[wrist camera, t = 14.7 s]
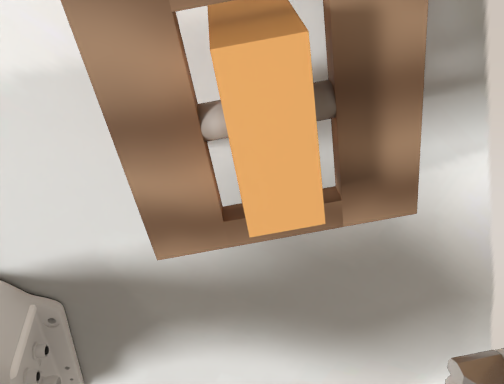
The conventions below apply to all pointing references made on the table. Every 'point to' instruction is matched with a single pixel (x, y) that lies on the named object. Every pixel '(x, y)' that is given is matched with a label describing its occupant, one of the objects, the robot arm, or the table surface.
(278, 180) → the orange arch brick
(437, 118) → the table surface
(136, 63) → the brown stool
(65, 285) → the table surface
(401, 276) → the table surface
